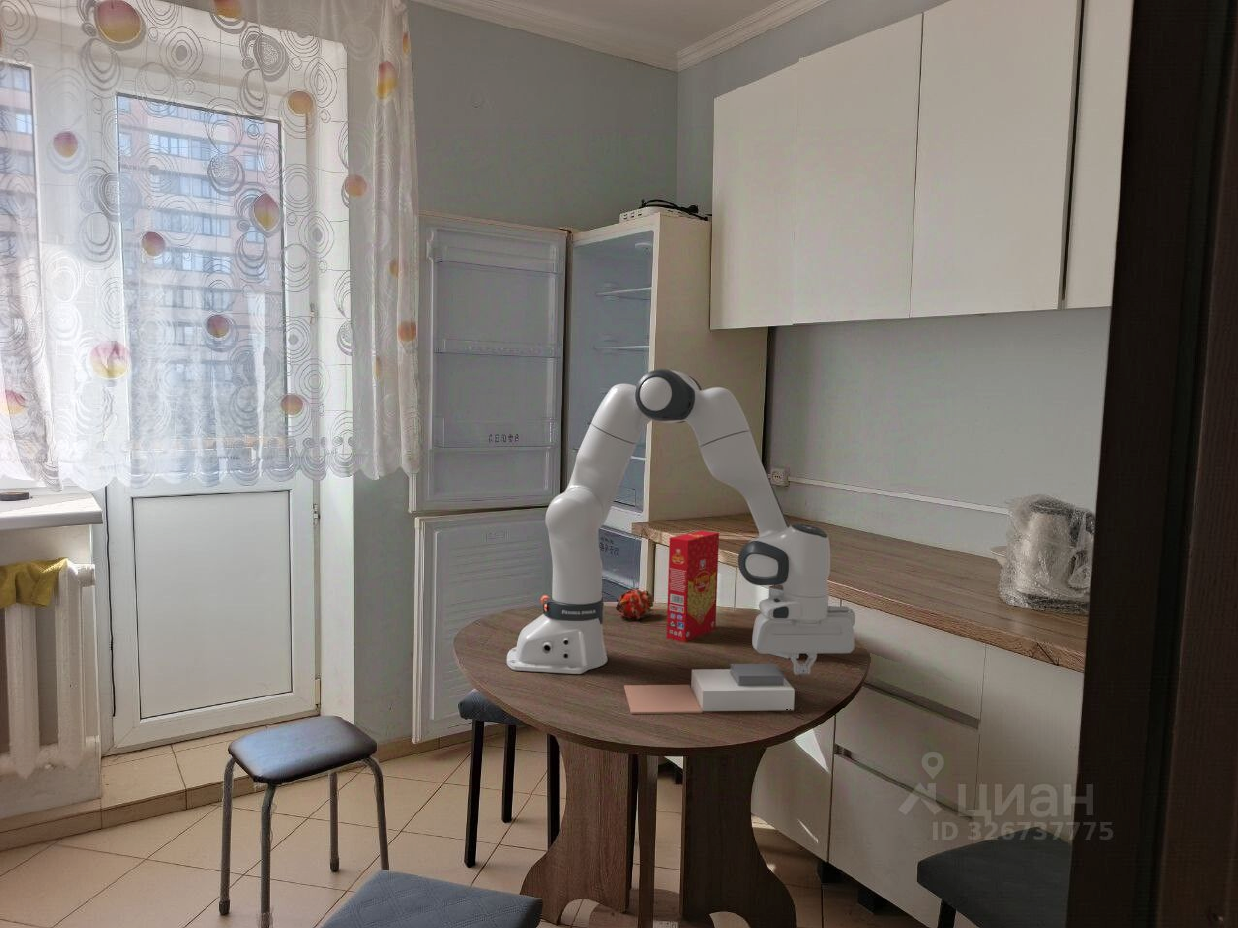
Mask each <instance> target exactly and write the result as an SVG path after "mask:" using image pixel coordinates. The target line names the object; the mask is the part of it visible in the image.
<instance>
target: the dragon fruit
mask: <svg viewBox="0 0 1238 928" xmlns="http://www.w3.org/2000/svg"><path fill="white" fill-rule="evenodd" d="M635 589H636V590H631V589H628V590H626V592H624V593H621V594H620V595H619V600H618V602H617V605H616V606H615V610H616V611H617V612H619V615H620V618H621V619H628V620H629V619H631V618H634V617H635V618H636V620H640V619H641V618H644V617H645V614H649V613H651V612H653V610H654V609H653V608H652V607H653V606H654V602H653V601H654V599H653V598H654V597H653V595H652V594H650V593H649V591H648V590H645V589H644V590H640V589H639V587H636V588H635ZM651 608H652V609H651Z"/></svg>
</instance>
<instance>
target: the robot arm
mask: <svg viewBox="0 0 1238 928" xmlns="http://www.w3.org/2000/svg"><path fill="white" fill-rule="evenodd" d="M652 421H655V422H656V421H657V422H660V423H665V424H675V423H677V424H680V423H687V424H688V425H689V426H690V428H692V430H693V432H694V435H695V437H696V441H697V444H698V447H699V451H700V453H701V456H702V460H703V462H704V464H705V465H706V468H707V469H708V472H709V473H710V475H711V476H712V477H713V478H714V479H715V480H717V481H719V482H721V483H723V484H726V485H728V486H729V487H732V489H734V490H736V491H738V493H740V495H741V496H742V497H743V498H744V499H745V500H744V501H746V504H747V506H748V508H749V511H750V514H751V515H752V518H753V521H754V523H755V526H756V528H757V530H758V536H759V537H757V538H753V539H752V540H750V541H748V542H747V543H745V544H744V545H743V546H742V547H740V548H741V549H740V550H739V553H738V555H737V567H738V570H739V572H740V575H741V576H742V577H743V578H744V579H745V580H746V582H749V583H750V584H752V585H755V586H772V585H777V584H780V585H782V586H783V594H781V595H778V596H775V597H772V598H769V599H768V598H766V599H765V598H764V599H763V600H761V601H759V604H758V609H759V611H760V613H759V614H758V615H757V616H756V618H755V621H754V626H753V630H752V640H751V641H752V642H751V643H752V647H753V648H754V649H755V651H757V653H758V654H766V655H768V654H769V655H771V654H776V653H789V656H790V658H789V659H790V660H791V662H792V663H793V673H794V675H795V676H796V675H797V676H798V675H807V676H808V675H811V667H813V665H814V663H815V662H816V661H817V657H818V654H852V652H853V650H854V649H855V645H856V644H855V642H856V641H855V631H854V630H855V629H854V626H855V623H856V613H855V611H854V610H853V609H852V608H850V607H849V606H844V605H842V606H835V605H829V597H830V596H829V595H830V594H829V593H830V592H829V590H830V589H829V587H828V579H829V576H830V572H831V547H830V544H831V543H830V540H829V536H828V533H826V532H825V531H824V529H823V530H822V529H821V528H820V527H817V526H816V525H811V524H807V523H792V524H791V525H790V524H789V522H788V520H787V518H786V516H785V513H784V511H783V509H782V506H781V504H780V501H779V498H778V496H777V493H776V492H775V489H774V487H773V485H772V483H771V479H770V478H769V476H768V473H767V472H766V470H765V468H764V465H763V462H762V460H761V457H760V456H759V451H758V450H757V446H756V443H755V441H754V438H753V435H752V434H753V433H752V432H751V429H750V426H749V423H748V421H747V418H746V415H745V414H744V411H743V410H742V407H741V405H740V403H739V402H738V400H737V398H736V397H735V395H734V393H733V392H732V391H731V390H730V389H728V388H725V387H718V386H717V387H716V386H715V387H710V388H706V389H702V387H701V385H700V383H699V382H698V381H697V380H696V379H695V378H694V377H692V376H690V375H688V374H685V373H684V372H681V371H679V370H674V369H673V370H672V369H666V368H664V369H663V368H658V369H654V370H651V371H649V372H646V373H645V374H644V375H643V376H642V377H641V378H640V379H639V380H638V382H637V385H634V384H630V383H618V384H615V385H614V386H612V387H611V388H610V389H609V391H608V392H607V394H606V395H605V396H604V398H603V399H602V401H601V403H600V404H599V406H598V408H597V410H596V412H595V413H594V415H593V417H592V420H591V423H590V424H589V426H588V429H587V431H586V433H585V435H584V438H583V440H582V442H581V445H580V447H579V449H578V451H577V454H576V456H575V457H576V458H575V464H574V467H573V470H572V473H571V476H570V478H569V479H570V480H569V482H568V484H567V487H566V489H565V490H564V491H563V492H562V493H560V494H559V493H558V495H557V496H555V497H554V498H553V499H552V500H551V502H550V503H549V505H548V507H547V510H546V514H545V517H544V518H545V527H546V529H547V530H548V540H549V546H550V553H551V559H552V584H551V585H552V587H551V590H552V595H551V596H550V597H549V596H548V595H542V597H541V598H540V603H541V605H542V614H541V615H540V616H538V617H537V618H536V619H534V620H533V621H531V622H530V623H528V624H527V625H526V626H525V627H523V629H522V630H521V631H520V633H519V636H518V639H517V643H516V646H514V647H513V648H511V649H509V651H507V655H506V665H507V666H508V667H509V668H510V669H511V670H513V671H520V672H521V671H523V672H540V673H555V674H572V675H573V674H574V675H581V674H583V673H586V672H587V671H588V670H593V669H596V668H599V667H601V666H604V665H605V664H607V662H608V656H607V651H606V648H605V642H604V641H605V640H604V633H603V622H604V617H605V615H604V614H605V604H604V598H603V595H602V593H603V561H602V558H601V549H600V543H599V542H600V540H599V530H600V528H601V527H602V526H603V525H604V524H605V522H606V520H607V519H608V517H609V514H610V511H611V510H612V506H613V504H614V502H615V499H616V497H617V494H618V492H619V491H618V490H619V488H620V484H621V482H622V479H623V476H624V474H625V472H626V469H627V468H628V466H629V463H630V460H631V458H632V456H633V454H634V452H635V450H636V447H637V445H638V442H639V441H640V439H641V435H642V434H643V432H644V430H645V429H646V426H647V425H648V424H649V423H651V422H652ZM799 653H800V654H806V655H807V659H806V661H805V662H804V663H799V662H798V660H797V659H799V656H800V654H799Z"/></svg>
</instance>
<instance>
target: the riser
mask: <svg viewBox="0 0 1238 928" xmlns="http://www.w3.org/2000/svg"><path fill="white" fill-rule="evenodd" d="M730 670H731V668H727V669H726V668H724V669H723V668H720V669H719V668H718V669H715V668H714V669H713V668H712V669H709V668H708V669H706V668H705V669H704V668H702V669H701V668H699V669H691V682H690V687H691V689H692V691H693V693H694V695H695V697H696V699H697V701H698V703H699V705H700V707H701V709H702V712H738V711H739V712H745V711H746V712H748V711H749V712H750V711H753V712H754V711H757V712H758V711H794V710H795V696H796V695H795V694H796V693H795V692H796V690H795V689H794V687H793V686H792V685H791V684H790V683H789V681H788V679H786V677H784V685H782V686H738V684H737V683H736V681H735V680H734V678H733V677H732V675H731V674H730ZM786 709H788V710H786ZM790 709H791V710H790Z"/></svg>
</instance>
